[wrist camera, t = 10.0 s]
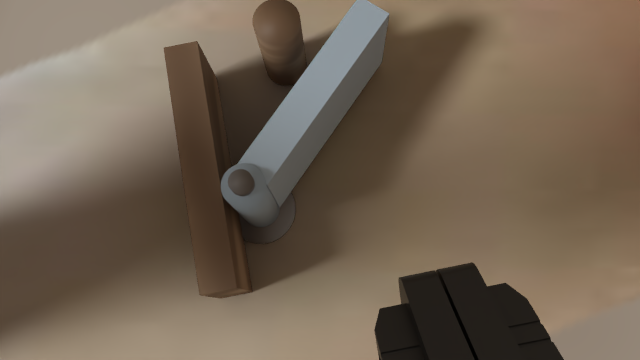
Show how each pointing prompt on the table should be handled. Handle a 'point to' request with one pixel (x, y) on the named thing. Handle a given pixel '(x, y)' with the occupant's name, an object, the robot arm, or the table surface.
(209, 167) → the frame rail
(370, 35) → the grey pivot lever
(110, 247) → the table surface
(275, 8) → the stop post
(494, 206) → the table surface
